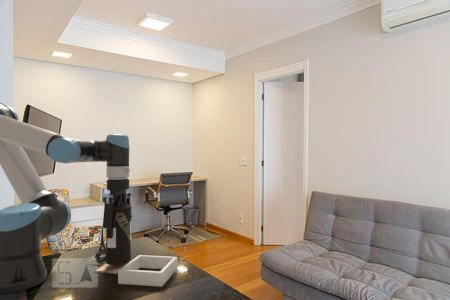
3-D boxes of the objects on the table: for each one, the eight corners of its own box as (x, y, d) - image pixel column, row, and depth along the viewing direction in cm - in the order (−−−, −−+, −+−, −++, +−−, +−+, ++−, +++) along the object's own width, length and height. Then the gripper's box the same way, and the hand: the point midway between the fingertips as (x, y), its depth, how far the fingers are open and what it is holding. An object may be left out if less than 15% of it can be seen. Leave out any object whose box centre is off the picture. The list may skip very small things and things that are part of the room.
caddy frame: (118, 283, 90) (118, 270, 90) (139, 266, 103) (139, 255, 104) (161, 286, 87) (161, 272, 87) (177, 268, 101) (177, 256, 101)
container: (123, 266, 98) (123, 206, 98) (99, 265, 100) (99, 205, 100) (136, 258, 106) (136, 202, 107) (113, 256, 108) (113, 201, 109)
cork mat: (94, 272, 99) (94, 270, 99) (112, 260, 109) (112, 259, 110) (125, 274, 97) (125, 272, 97) (140, 262, 108) (140, 260, 108)
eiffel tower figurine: (103, 251, 122) (103, 219, 122) (124, 253, 119) (124, 220, 119) (76, 264, 107) (76, 227, 108) (99, 267, 105) (99, 229, 105)
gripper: (111, 181, 93) (112, 253, 92) (141, 176, 113) (141, 236, 113) (90, 180, 94) (90, 252, 94) (123, 176, 115) (123, 235, 114)
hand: (118, 243), depth 103 cm, fingers closed on container, 8 cm apart
